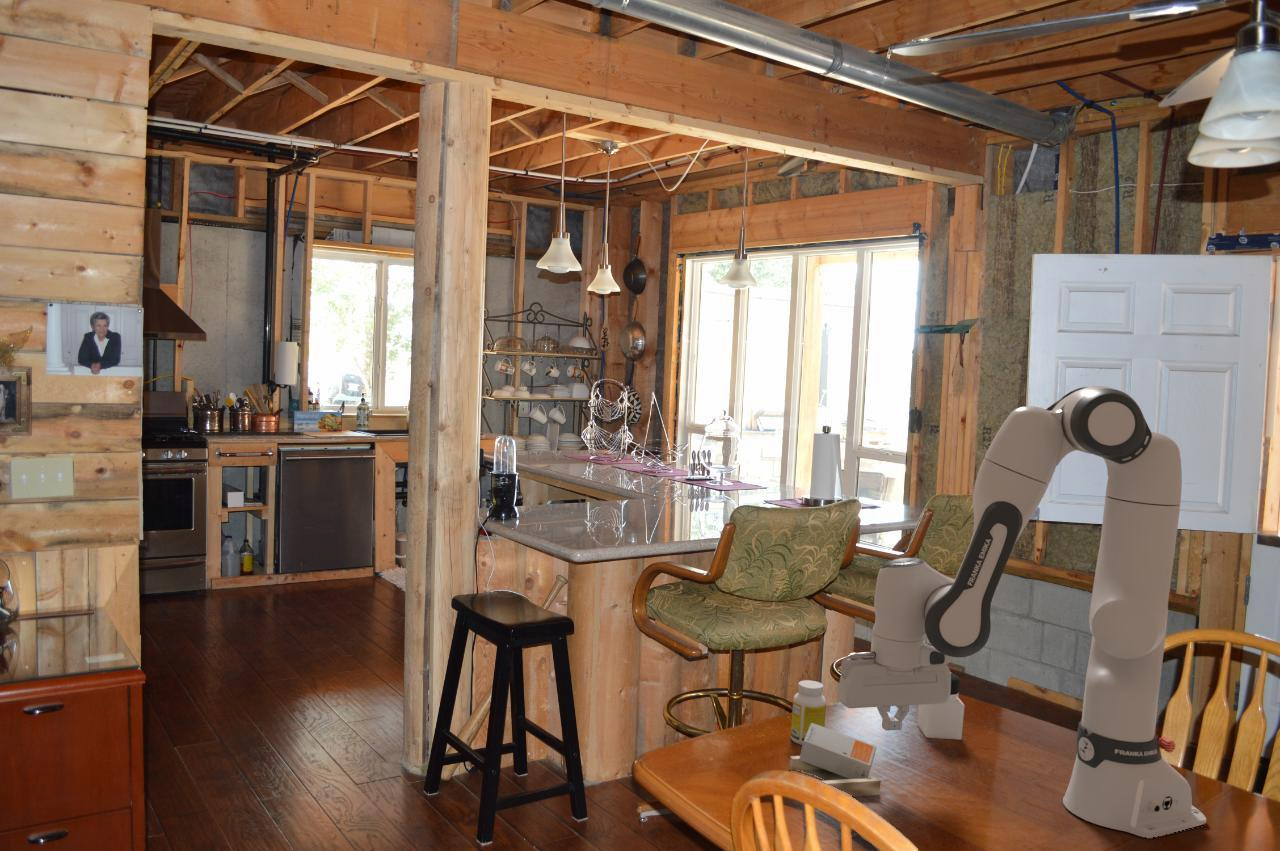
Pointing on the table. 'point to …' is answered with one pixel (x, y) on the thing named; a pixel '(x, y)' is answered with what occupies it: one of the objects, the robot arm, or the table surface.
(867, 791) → the rest
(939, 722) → the medicine bottle
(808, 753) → the skincare box
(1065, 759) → the table surface
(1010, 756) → the table surface
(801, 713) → the pill bottle
